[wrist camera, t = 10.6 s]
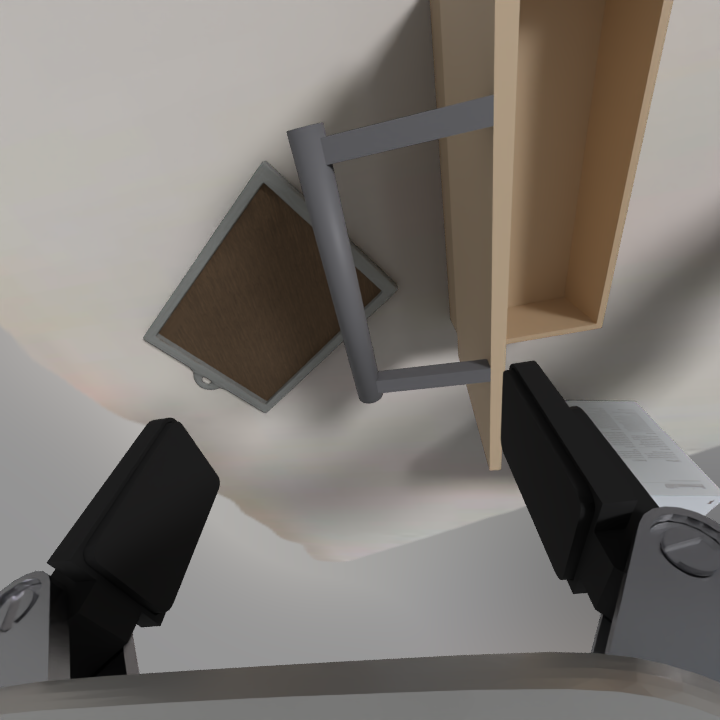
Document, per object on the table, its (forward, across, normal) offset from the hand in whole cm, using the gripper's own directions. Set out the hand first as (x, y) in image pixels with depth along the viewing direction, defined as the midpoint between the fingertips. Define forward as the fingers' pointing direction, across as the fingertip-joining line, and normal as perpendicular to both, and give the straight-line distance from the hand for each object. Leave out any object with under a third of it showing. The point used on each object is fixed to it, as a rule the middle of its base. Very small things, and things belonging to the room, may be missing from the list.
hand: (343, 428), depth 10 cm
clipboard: (+32, +15, +10) cm, 37 cm away
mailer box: (+32, -16, 0) cm, 36 cm away
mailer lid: (+16, -8, 0) cm, 18 cm away
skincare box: (+32, -25, +35) cm, 54 cm away
